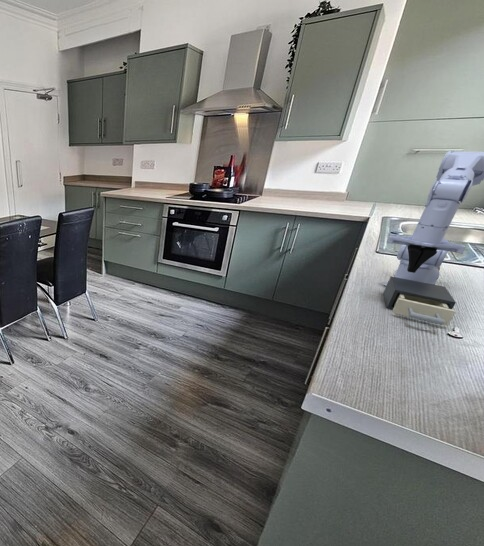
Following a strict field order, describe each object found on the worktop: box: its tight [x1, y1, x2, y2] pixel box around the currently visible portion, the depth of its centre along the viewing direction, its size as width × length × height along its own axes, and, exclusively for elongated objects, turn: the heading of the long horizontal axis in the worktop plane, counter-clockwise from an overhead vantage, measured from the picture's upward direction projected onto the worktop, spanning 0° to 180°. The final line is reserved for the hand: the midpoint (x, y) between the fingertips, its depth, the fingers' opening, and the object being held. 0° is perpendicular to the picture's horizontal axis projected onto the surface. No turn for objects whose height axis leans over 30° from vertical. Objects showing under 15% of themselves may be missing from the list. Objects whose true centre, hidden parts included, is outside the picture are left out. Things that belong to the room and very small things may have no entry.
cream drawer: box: [391, 293, 456, 327], centre depth 84 cm, size 17×10×4 cm, turn 141°
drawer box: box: [382, 276, 457, 310], centre depth 90 cm, size 13×12×6 cm
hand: (410, 271), depth 89 cm, fingers closed
